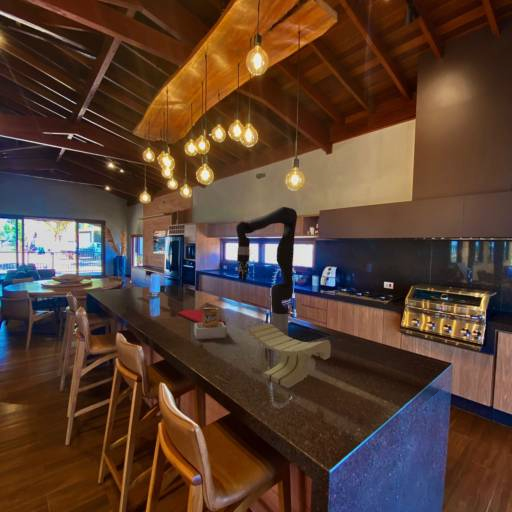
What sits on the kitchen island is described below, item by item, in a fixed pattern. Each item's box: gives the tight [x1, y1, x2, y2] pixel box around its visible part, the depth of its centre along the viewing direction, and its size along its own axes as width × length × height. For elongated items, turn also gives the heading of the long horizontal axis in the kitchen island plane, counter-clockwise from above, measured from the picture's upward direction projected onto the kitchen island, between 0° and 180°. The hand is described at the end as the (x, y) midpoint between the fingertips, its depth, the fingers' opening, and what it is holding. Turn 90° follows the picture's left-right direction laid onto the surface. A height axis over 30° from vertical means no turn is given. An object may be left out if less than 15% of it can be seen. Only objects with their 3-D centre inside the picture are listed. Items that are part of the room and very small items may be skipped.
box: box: [193, 322, 228, 341], centre depth 161 cm, size 12×17×6 cm
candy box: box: [202, 306, 220, 328], centre depth 161 cm, size 9×4×15 cm, turn 97°
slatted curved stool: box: [248, 323, 332, 389], centre depth 114 cm, size 30×16×18 cm, turn 47°
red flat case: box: [177, 309, 226, 325], centre depth 197 cm, size 16×41×4 cm, turn 41°
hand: (242, 279), depth 172 cm, fingers open, 8 cm apart
